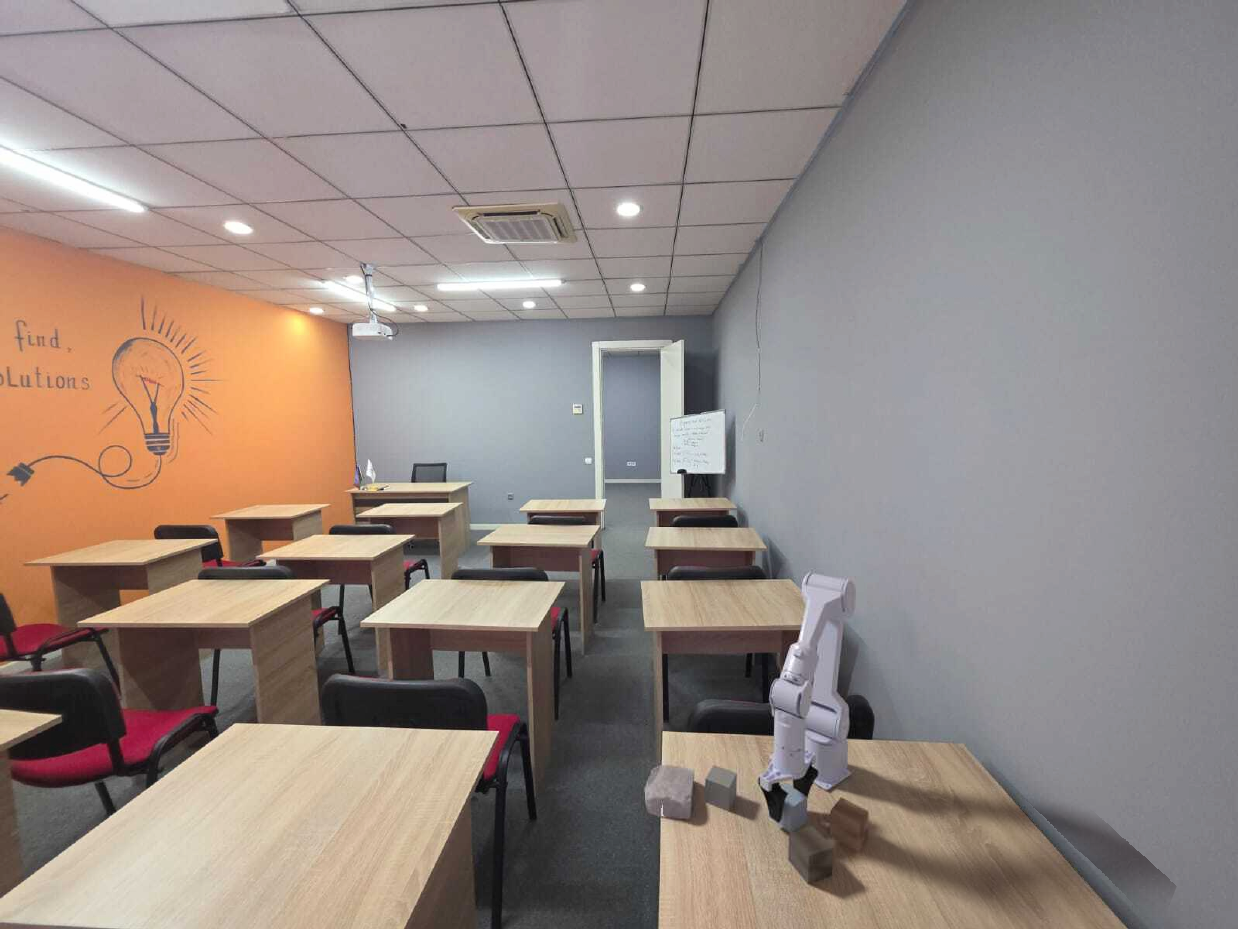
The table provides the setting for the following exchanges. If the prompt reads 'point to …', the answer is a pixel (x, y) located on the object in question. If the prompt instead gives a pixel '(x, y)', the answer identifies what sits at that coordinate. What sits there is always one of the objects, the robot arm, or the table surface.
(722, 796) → the grey cube
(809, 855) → the ebony cube
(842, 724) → the robot arm
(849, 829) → the walnut cube
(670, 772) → the stone block
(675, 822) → the table surface
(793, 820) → the slate blue cube
